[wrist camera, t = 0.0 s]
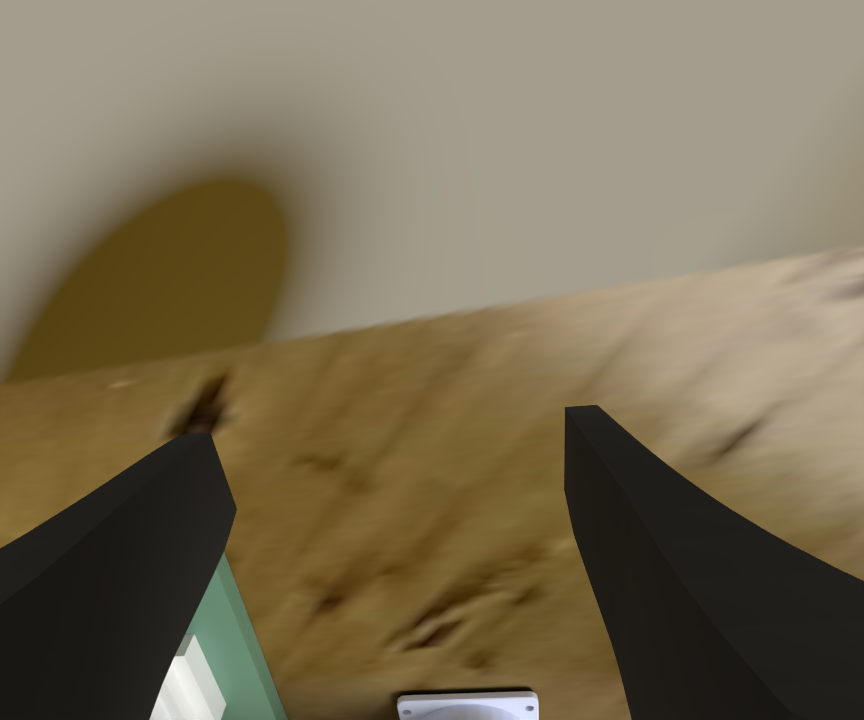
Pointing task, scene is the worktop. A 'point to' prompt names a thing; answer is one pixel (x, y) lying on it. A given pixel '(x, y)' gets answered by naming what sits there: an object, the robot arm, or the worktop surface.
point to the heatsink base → (219, 663)
